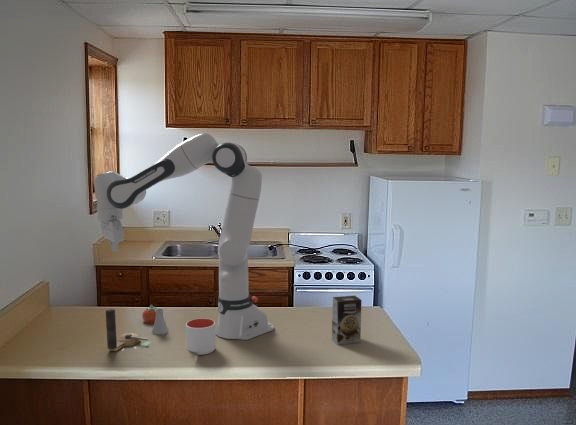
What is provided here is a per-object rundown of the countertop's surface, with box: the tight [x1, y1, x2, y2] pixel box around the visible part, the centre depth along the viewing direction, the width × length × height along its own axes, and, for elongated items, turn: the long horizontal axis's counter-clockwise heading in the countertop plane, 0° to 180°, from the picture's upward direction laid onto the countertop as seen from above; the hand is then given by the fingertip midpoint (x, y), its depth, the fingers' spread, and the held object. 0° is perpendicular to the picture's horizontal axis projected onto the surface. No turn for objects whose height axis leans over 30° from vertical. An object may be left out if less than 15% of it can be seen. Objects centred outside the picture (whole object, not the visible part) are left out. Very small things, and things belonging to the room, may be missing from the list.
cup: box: [185, 317, 217, 356], centre depth 184 cm, size 10×10×10 cm
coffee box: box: [331, 294, 362, 346], centre depth 193 cm, size 9×6×16 cm
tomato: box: [141, 304, 158, 324], centre depth 210 cm, size 7×7×8 cm
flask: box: [150, 307, 169, 335], centre depth 198 cm, size 7×7×10 cm
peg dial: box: [105, 308, 149, 352], centre depth 184 cm, size 14×12×14 cm
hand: (115, 251), depth 200 cm, fingers closed
